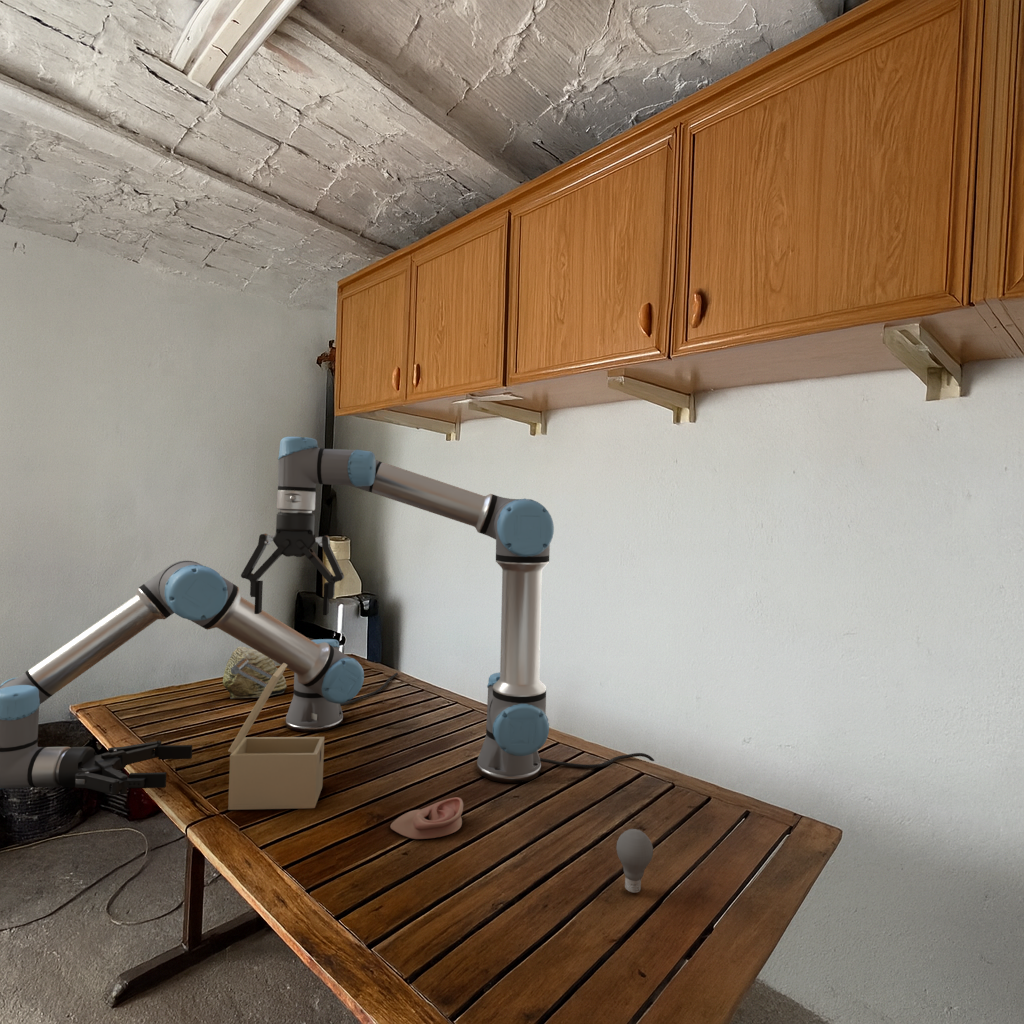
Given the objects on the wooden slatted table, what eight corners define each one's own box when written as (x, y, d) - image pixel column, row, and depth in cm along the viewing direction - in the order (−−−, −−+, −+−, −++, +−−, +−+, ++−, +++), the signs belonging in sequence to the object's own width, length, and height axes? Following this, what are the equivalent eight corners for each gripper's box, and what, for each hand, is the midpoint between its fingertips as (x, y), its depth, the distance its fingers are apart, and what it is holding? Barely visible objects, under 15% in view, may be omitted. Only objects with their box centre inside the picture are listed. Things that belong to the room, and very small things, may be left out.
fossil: (218, 695, 195) (220, 647, 195) (278, 685, 208) (279, 640, 207) (228, 703, 189) (230, 653, 188) (289, 692, 201) (290, 645, 201)
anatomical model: (384, 813, 120) (406, 787, 131) (383, 834, 120) (405, 806, 131) (452, 824, 117) (468, 796, 128) (451, 845, 117) (467, 815, 128)
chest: (322, 787, 138) (324, 736, 138) (314, 808, 129) (316, 754, 129) (241, 788, 136) (243, 737, 136) (228, 810, 127) (230, 755, 126)
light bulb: (610, 879, 108) (613, 822, 108) (644, 879, 109) (647, 822, 109) (619, 902, 102) (622, 840, 102) (655, 901, 103) (658, 840, 103)
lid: (287, 664, 137) (250, 645, 136) (277, 677, 127) (237, 656, 126) (246, 735, 136) (208, 716, 135) (232, 753, 126) (191, 733, 125)
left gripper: (98, 759, 139) (200, 758, 142) (27, 816, 115) (152, 813, 117) (99, 725, 139) (201, 725, 142) (28, 775, 114) (153, 773, 117)
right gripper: (227, 509, 126) (223, 615, 127) (355, 514, 130) (351, 618, 130) (238, 508, 134) (234, 609, 134) (359, 513, 137) (355, 611, 137)
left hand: (179, 765), depth 130 cm, fingers open, 13 cm apart
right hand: (292, 613), depth 132 cm, fingers open, 13 cm apart
